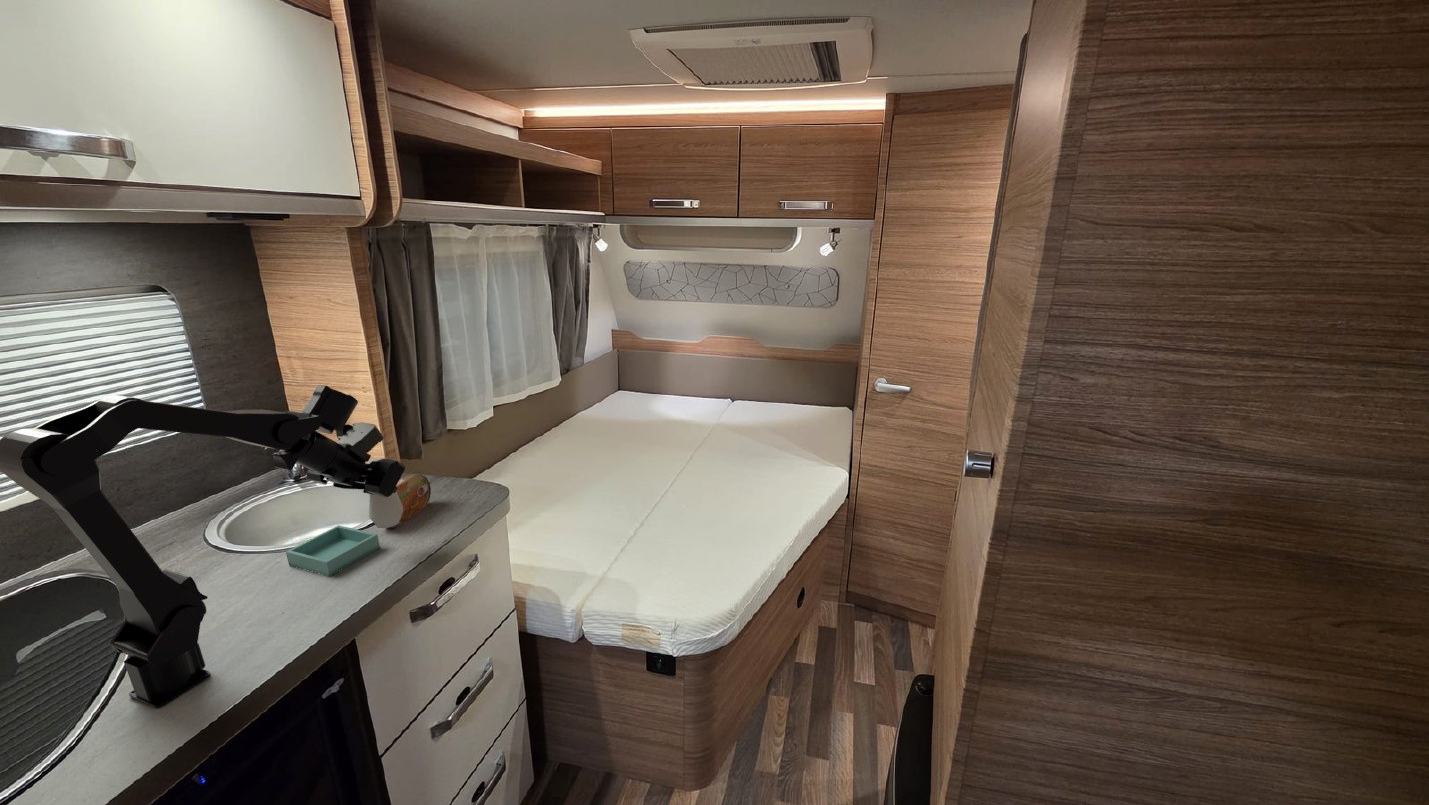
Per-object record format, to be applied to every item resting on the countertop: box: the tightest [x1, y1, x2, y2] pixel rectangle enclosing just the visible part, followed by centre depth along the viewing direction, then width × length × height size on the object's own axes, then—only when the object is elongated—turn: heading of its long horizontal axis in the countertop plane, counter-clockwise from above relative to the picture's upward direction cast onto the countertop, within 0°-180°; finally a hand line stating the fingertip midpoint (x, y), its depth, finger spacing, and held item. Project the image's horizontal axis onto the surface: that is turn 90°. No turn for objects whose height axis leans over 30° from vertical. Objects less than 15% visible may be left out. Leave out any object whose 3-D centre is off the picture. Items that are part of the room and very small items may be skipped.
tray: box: [285, 524, 381, 577], centre depth 113 cm, size 11×11×3 cm
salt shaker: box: [365, 457, 403, 529], centre depth 111 cm, size 6×6×13 cm
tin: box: [390, 474, 432, 528], centre depth 127 cm, size 15×3×8 cm, turn 168°
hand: (388, 489), depth 112 cm, fingers closed on salt shaker, 3 cm apart
